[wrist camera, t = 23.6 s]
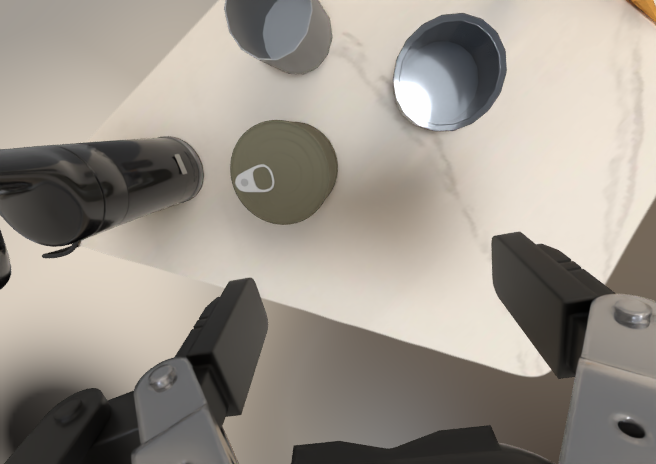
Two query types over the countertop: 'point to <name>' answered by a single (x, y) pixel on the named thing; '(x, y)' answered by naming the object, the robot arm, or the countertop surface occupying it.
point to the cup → (281, 32)
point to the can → (283, 170)
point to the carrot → (647, 7)
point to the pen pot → (449, 72)
